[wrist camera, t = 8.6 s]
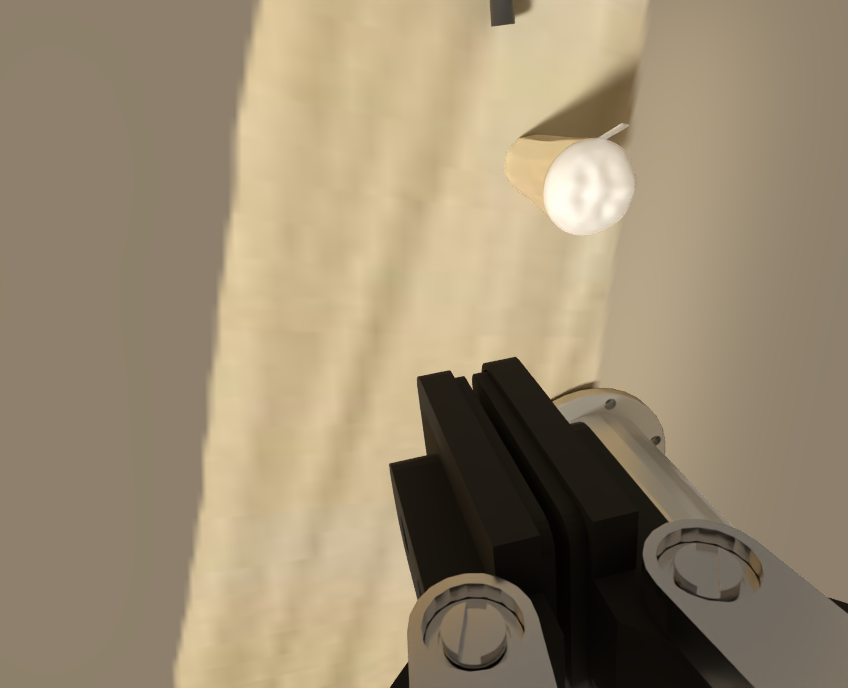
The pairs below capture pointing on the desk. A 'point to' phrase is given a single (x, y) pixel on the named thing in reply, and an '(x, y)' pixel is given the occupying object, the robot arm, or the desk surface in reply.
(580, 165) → the milkshake
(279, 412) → the desk surface
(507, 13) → the rocker switch panel
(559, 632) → the robot arm
